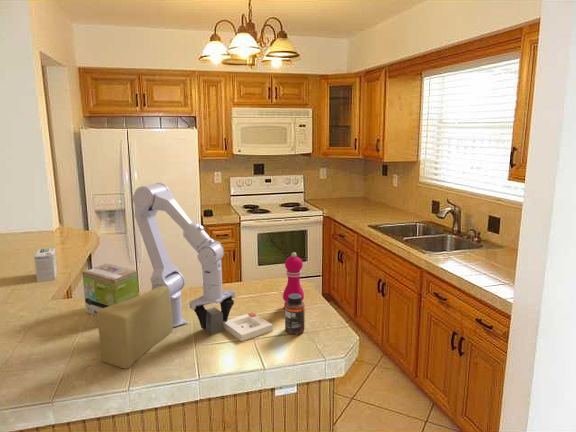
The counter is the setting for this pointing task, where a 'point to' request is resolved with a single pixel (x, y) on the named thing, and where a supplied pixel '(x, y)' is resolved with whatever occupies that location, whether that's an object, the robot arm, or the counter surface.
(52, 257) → the light bulb box
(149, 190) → the robot arm
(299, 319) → the supplement bottle
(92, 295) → the tea box
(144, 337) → the tan rectangular block
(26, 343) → the counter surface
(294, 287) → the pepper mill
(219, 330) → the plug
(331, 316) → the counter surface
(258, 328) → the socket plate
